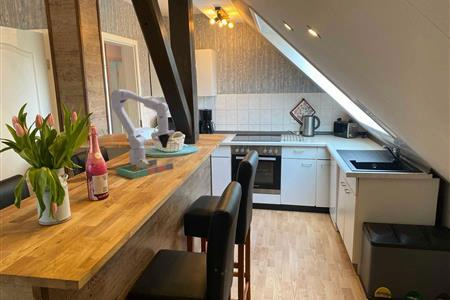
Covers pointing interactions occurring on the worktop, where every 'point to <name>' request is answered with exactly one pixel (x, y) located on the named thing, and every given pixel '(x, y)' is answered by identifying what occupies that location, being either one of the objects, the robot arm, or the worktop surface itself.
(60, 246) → the worktop surface
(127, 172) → the trap track
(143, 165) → the game die
